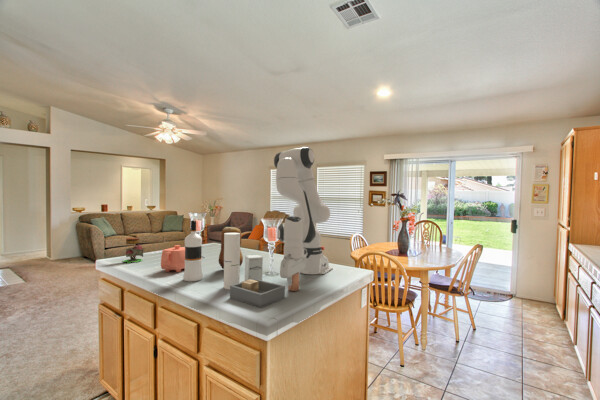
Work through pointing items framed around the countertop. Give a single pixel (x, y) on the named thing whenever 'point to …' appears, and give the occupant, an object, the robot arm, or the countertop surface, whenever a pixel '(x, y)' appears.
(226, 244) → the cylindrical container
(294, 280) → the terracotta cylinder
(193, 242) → the vodka
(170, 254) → the teapot
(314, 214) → the robot arm
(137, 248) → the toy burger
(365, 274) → the countertop surface
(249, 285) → the oak cube
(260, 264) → the supplement box
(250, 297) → the tote
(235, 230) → the butternut squash
